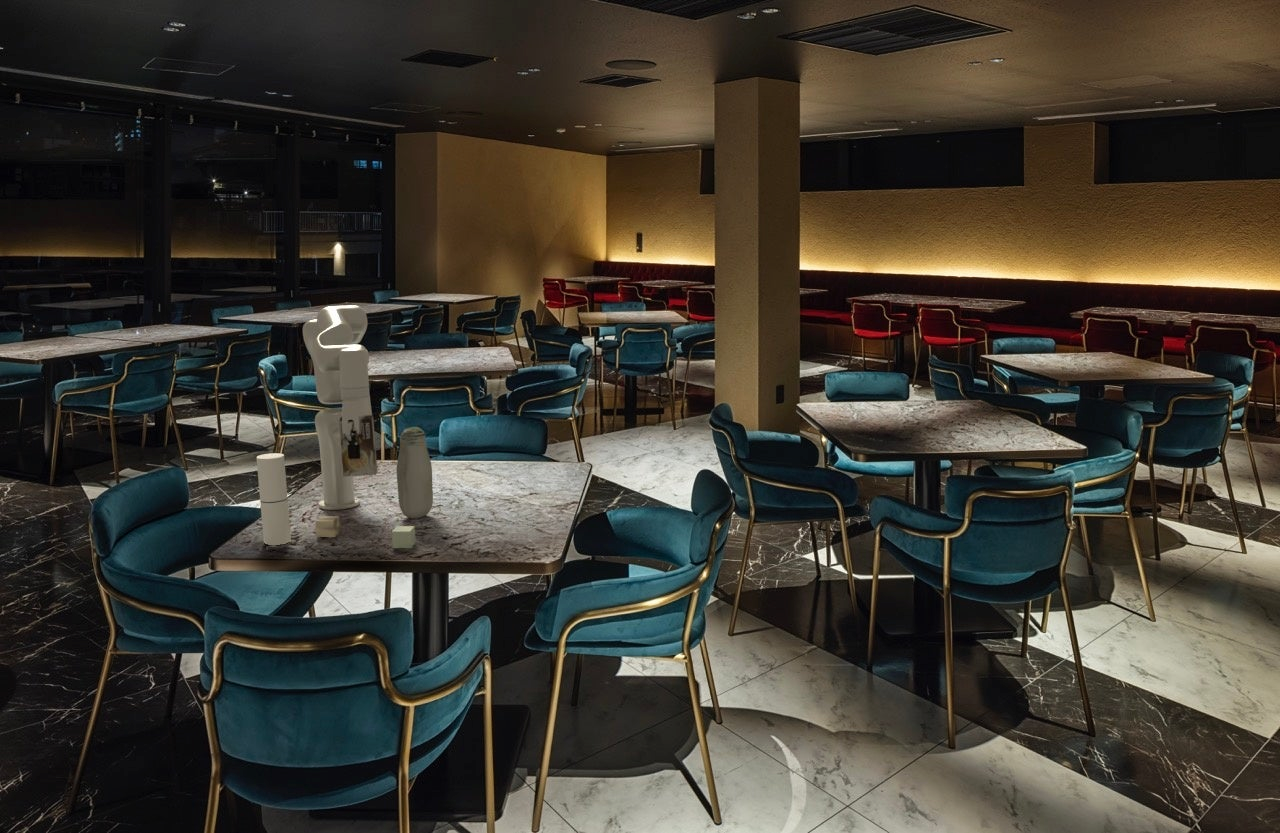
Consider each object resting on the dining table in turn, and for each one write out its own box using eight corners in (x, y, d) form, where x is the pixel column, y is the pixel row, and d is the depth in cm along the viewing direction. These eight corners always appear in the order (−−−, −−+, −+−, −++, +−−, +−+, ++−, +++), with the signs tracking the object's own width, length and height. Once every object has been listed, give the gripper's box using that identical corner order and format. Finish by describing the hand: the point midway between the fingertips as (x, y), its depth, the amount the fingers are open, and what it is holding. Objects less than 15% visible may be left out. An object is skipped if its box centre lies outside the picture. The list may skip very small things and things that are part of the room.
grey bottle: (425, 522, 282) (420, 431, 277) (394, 521, 284) (388, 430, 279) (439, 513, 292) (434, 425, 287) (408, 512, 294) (403, 424, 289)
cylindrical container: (267, 548, 260) (260, 460, 255) (260, 541, 265) (253, 455, 261) (294, 543, 264) (287, 456, 260) (286, 537, 270) (279, 452, 265)
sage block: (397, 543, 263) (396, 526, 262) (415, 543, 263) (414, 526, 262) (392, 548, 258) (391, 531, 257) (410, 548, 258) (409, 531, 257)
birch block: (323, 532, 274) (321, 516, 273) (339, 532, 274) (338, 516, 273) (316, 538, 269) (315, 521, 268) (334, 537, 269) (332, 521, 268)
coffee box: (378, 469, 268) (374, 414, 265) (376, 475, 262) (373, 418, 259) (344, 471, 266) (340, 416, 263) (342, 477, 260) (338, 420, 257)
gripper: (352, 387, 268) (356, 448, 271) (330, 398, 251) (335, 462, 254) (378, 387, 268) (381, 448, 271) (358, 398, 251) (362, 462, 254)
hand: (359, 454), depth 263 cm, fingers closed on coffee box, 7 cm apart
